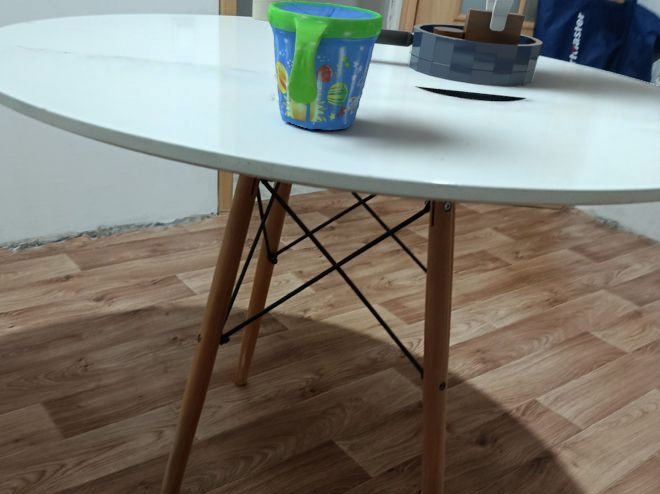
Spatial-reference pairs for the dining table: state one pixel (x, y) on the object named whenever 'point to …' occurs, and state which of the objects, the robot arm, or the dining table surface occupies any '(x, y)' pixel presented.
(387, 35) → the pan handle
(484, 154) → the dining table surface
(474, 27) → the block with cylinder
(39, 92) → the dining table surface
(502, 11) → the robot arm
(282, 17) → the snack cup
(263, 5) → the travel mug
